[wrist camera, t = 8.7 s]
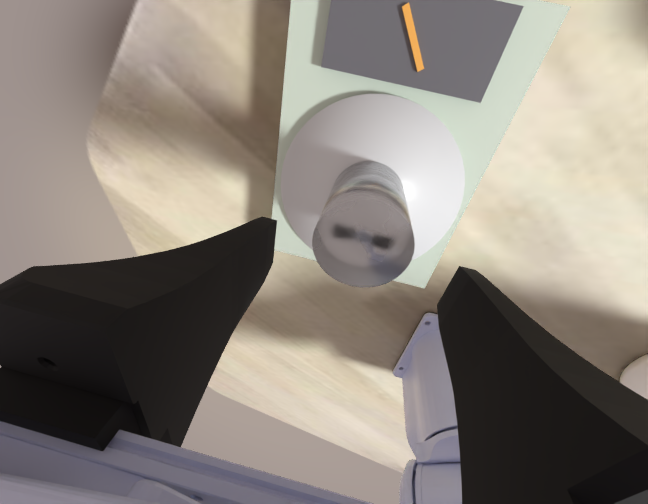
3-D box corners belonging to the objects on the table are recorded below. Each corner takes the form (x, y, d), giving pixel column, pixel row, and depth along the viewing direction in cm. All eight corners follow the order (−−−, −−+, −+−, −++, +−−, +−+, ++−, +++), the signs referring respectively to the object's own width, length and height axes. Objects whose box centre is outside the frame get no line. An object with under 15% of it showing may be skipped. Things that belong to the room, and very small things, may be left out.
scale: (420, 269, 23) (426, 295, 20) (279, 233, 23) (265, 254, 20) (541, 17, 14) (582, 2, 11) (307, -32, 14) (290, -58, 11)
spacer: (390, 236, 18) (394, 297, 13) (325, 219, 18) (305, 273, 13) (415, 171, 16) (432, 215, 11) (340, 152, 16) (322, 187, 11)
